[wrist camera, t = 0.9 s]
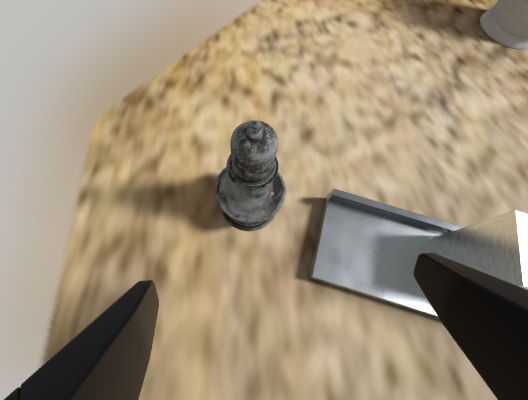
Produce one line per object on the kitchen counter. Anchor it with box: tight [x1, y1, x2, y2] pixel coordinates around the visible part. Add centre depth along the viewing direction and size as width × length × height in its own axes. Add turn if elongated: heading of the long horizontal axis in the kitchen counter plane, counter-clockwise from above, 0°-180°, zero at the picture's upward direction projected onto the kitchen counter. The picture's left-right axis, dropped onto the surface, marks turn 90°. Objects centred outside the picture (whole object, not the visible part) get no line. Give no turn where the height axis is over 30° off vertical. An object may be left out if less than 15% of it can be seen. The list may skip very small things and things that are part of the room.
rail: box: [309, 189, 528, 318], centre depth 19 cm, size 8×20×8 cm, turn 74°
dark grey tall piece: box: [215, 121, 286, 231], centre depth 19 cm, size 6×6×12 cm
